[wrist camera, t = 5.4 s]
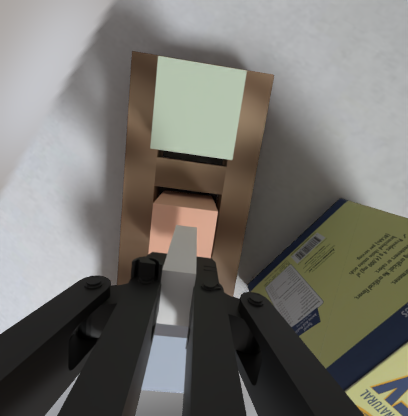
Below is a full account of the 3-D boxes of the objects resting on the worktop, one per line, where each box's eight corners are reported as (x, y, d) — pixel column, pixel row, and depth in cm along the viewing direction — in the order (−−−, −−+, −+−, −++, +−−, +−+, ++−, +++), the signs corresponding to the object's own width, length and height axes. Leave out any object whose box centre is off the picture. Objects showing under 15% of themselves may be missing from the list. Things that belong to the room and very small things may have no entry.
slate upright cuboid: (152, 281, 24) (134, 333, 17) (201, 286, 24) (203, 339, 17) (147, 324, 25) (129, 389, 18) (194, 328, 25) (194, 394, 18)
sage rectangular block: (171, 89, 20) (158, 55, 13) (229, 99, 20) (246, 70, 13) (165, 150, 21) (150, 148, 14) (220, 158, 21) (232, 160, 14)
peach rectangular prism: (164, 189, 25) (153, 203, 18) (211, 195, 25) (217, 211, 18) (160, 234, 26) (147, 263, 19) (205, 239, 26) (208, 270, 19)
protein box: (394, 252, 29) (619, 362, 13) (299, 333, 31) (401, 508, 16) (340, 194, 27) (531, 247, 12) (244, 286, 29) (297, 431, 14)
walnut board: (142, 68, 23) (132, 50, 19) (261, 87, 24) (274, 74, 20) (124, 314, 29) (113, 339, 25) (219, 324, 30) (223, 349, 26)
